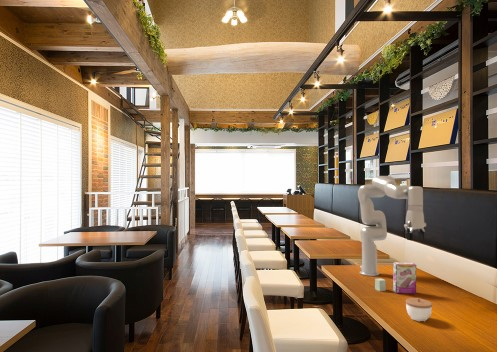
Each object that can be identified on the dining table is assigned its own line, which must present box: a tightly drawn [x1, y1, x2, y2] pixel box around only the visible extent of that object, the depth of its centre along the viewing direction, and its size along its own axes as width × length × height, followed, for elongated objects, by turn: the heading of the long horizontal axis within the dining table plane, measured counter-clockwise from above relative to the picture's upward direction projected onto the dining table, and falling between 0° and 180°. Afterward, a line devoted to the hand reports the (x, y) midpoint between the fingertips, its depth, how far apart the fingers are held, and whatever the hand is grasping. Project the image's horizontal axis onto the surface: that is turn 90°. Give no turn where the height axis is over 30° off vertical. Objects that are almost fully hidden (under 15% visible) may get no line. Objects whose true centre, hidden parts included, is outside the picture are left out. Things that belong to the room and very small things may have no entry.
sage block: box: [374, 278, 387, 292], centre depth 200 cm, size 4×4×6 cm
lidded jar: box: [405, 297, 433, 322], centre depth 157 cm, size 11×11×9 cm
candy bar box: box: [392, 261, 417, 295], centre depth 195 cm, size 11×5×16 cm, turn 84°
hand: (415, 239), depth 193 cm, fingers open, 9 cm apart
